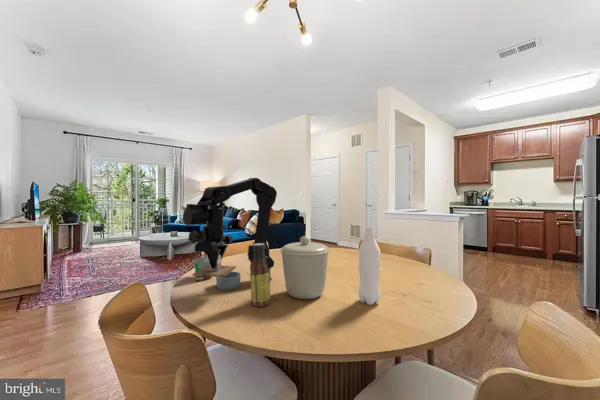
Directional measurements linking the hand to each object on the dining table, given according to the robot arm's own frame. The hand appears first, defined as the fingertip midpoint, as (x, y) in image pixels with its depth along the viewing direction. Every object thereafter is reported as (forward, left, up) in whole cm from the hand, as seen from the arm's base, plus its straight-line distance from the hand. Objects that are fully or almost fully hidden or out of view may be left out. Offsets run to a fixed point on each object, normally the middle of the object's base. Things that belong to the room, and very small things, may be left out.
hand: (215, 267), depth 95 cm
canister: (-31, -6, -11) cm, 34 cm away
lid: (0, 0, -2) cm, 2 cm away
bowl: (0, -12, -11) cm, 16 cm away
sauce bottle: (-17, +4, -11) cm, 21 cm away
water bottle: (-53, -1, -11) cm, 54 cm away
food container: (+13, -21, -11) cm, 27 cm away
